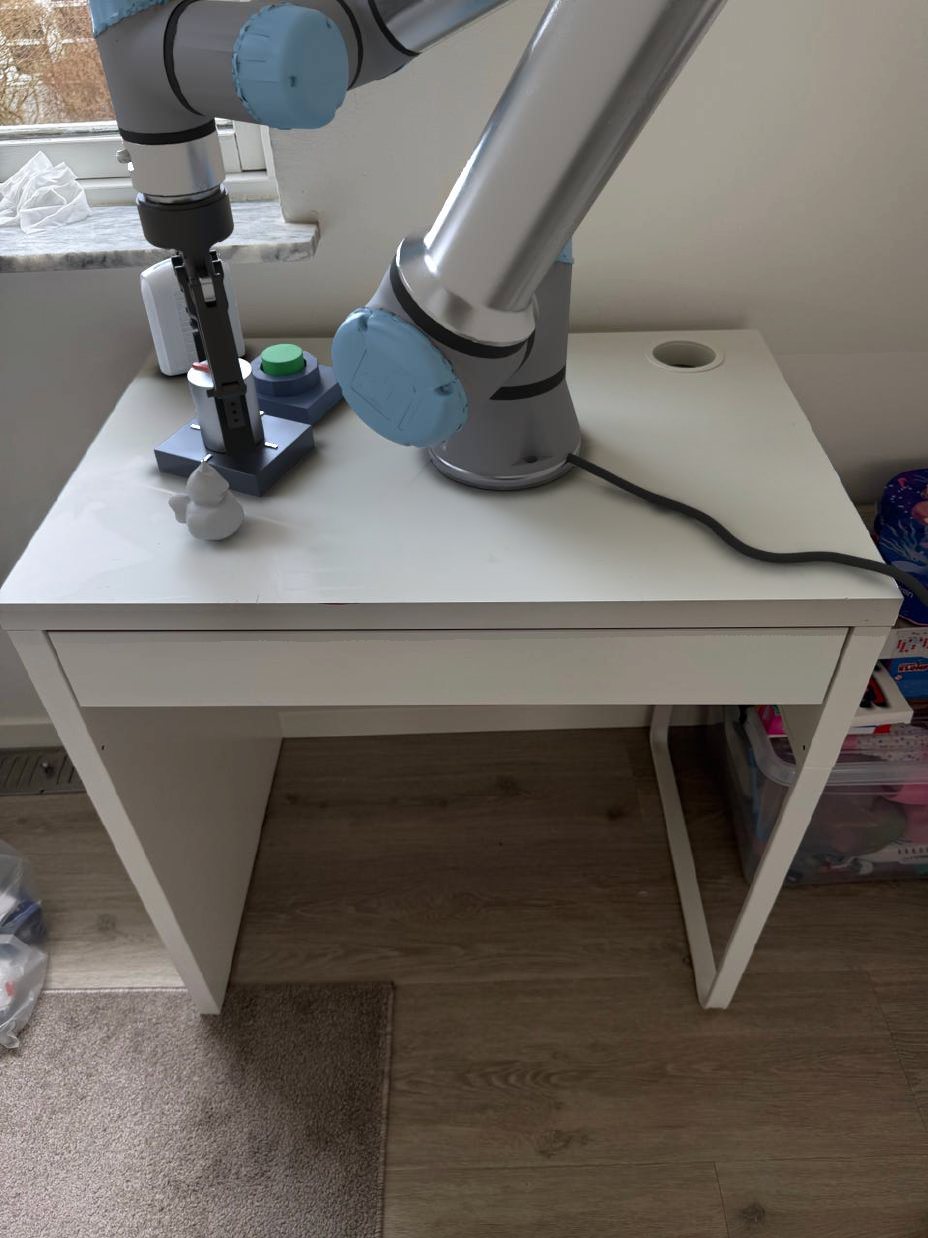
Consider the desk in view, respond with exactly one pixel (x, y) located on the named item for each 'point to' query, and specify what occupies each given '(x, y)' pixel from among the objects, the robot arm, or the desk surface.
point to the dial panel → (242, 471)
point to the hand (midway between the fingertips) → (230, 420)
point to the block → (297, 391)
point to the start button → (282, 360)
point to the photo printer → (178, 317)
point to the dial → (207, 408)
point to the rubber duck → (207, 505)
